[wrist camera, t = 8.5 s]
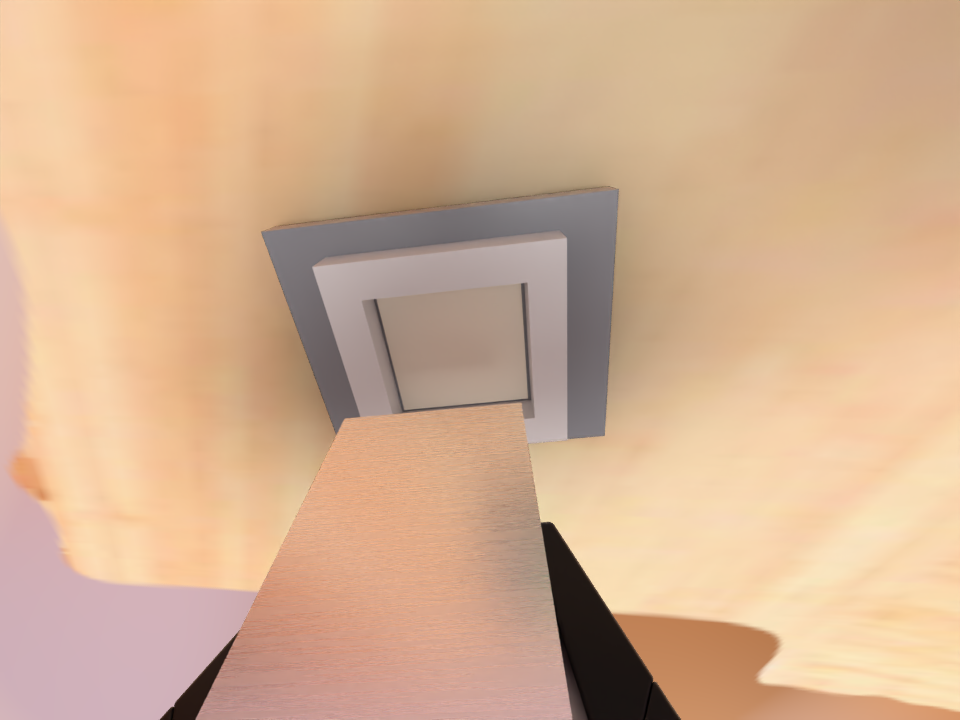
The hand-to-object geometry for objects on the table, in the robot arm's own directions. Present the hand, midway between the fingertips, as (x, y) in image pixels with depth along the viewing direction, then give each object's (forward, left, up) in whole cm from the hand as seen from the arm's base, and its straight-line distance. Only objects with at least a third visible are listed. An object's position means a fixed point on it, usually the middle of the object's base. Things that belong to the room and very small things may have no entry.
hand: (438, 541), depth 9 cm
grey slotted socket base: (0, 0, -11) cm, 11 cm away
